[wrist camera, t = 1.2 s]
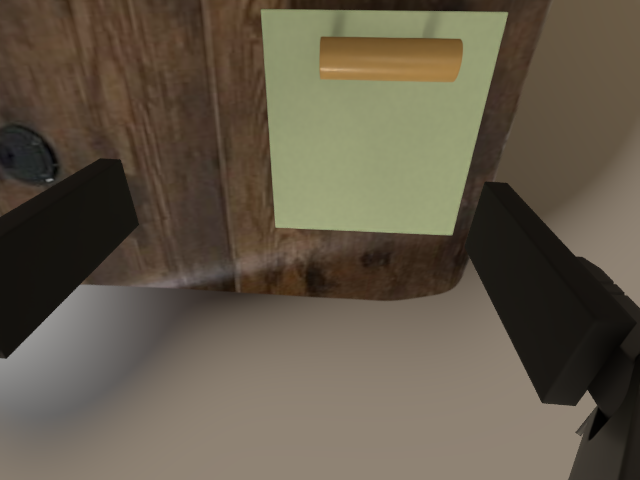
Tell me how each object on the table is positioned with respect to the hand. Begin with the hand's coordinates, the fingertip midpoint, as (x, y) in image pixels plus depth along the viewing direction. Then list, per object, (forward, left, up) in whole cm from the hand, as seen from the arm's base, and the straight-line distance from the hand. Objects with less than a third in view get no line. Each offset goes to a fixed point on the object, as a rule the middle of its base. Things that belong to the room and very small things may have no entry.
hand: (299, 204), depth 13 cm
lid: (+2, +4, -16) cm, 17 cm away
